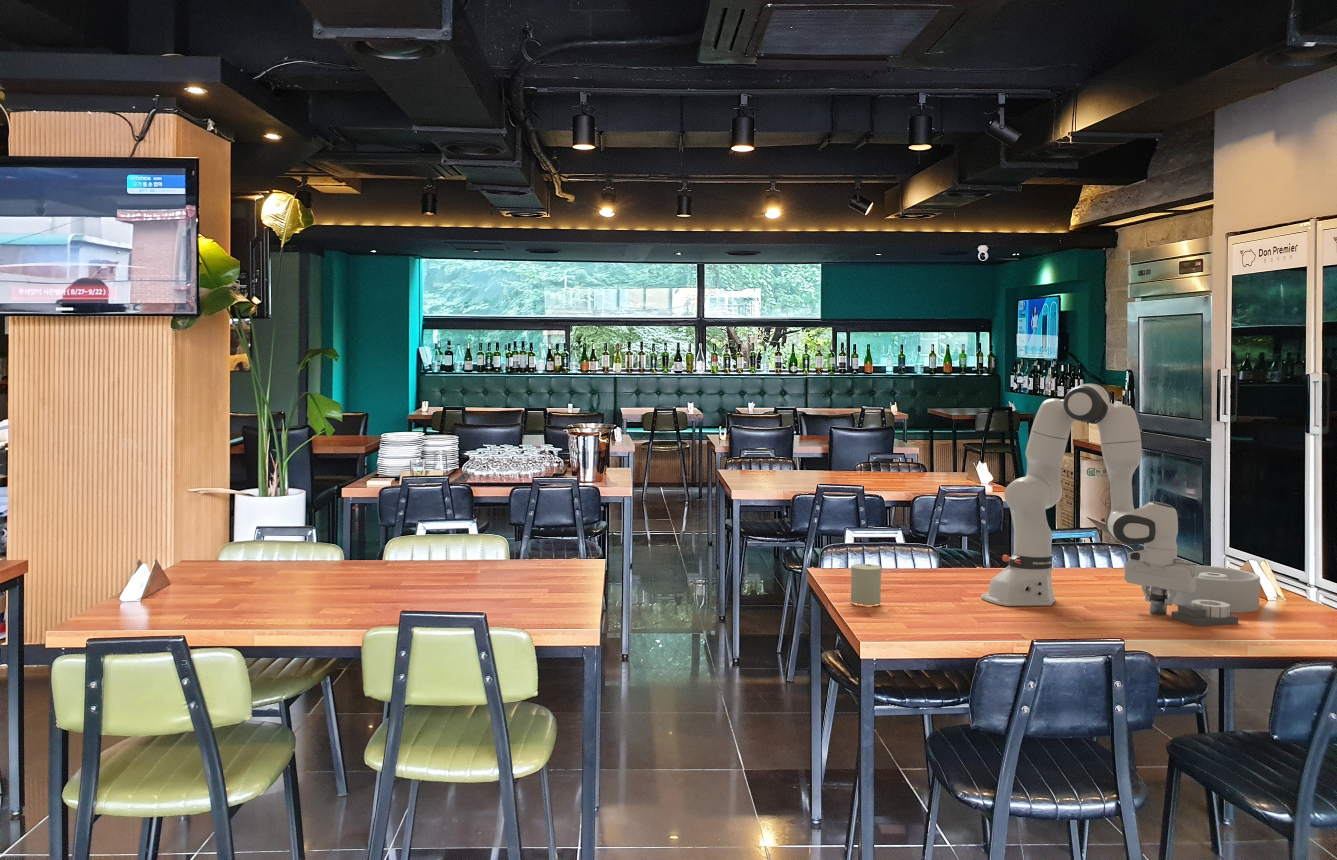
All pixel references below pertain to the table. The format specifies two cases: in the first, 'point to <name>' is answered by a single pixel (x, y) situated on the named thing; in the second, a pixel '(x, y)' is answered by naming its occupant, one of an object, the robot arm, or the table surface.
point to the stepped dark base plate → (1205, 613)
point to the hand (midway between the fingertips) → (1158, 603)
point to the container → (1224, 588)
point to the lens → (1158, 601)
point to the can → (866, 584)
